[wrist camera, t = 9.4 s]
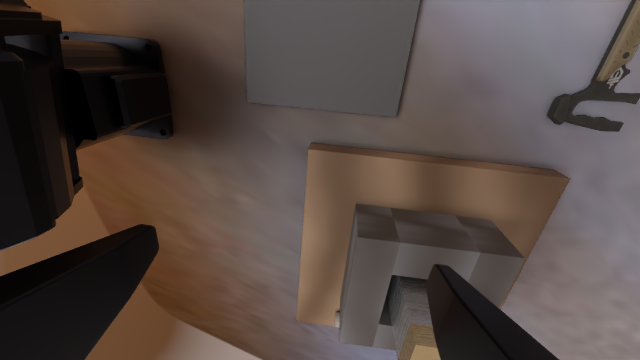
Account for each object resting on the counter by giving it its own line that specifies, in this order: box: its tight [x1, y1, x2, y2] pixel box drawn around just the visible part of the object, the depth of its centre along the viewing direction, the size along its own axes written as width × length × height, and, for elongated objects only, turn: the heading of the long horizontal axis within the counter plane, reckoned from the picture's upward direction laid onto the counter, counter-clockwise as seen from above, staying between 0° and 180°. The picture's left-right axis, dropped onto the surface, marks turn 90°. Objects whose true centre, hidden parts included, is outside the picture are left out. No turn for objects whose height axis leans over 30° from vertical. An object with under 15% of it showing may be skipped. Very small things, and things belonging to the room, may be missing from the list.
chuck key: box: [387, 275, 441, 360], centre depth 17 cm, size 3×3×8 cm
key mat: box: [244, 0, 420, 118], centre depth 16 cm, size 10×10×1 cm
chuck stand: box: [296, 143, 570, 350], centre depth 20 cm, size 17×17×6 cm
